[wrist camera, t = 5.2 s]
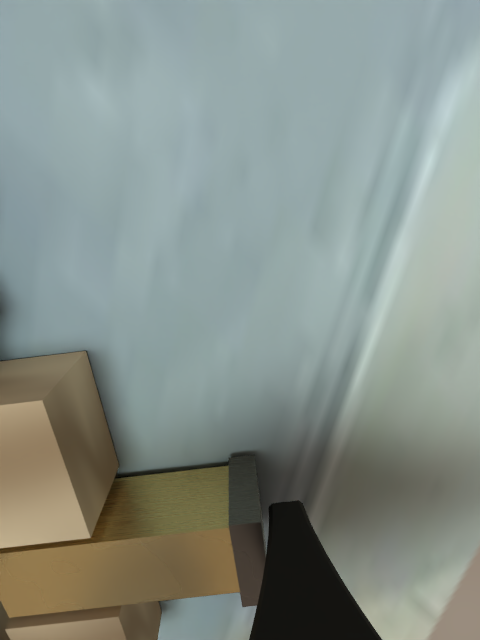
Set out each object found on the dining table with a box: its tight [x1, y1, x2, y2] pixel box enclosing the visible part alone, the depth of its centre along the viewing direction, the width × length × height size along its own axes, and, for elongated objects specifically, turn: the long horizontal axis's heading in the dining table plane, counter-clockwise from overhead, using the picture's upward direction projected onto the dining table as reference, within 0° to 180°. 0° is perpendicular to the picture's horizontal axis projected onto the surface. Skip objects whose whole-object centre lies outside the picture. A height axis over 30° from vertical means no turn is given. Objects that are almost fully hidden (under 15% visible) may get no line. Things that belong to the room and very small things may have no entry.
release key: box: [0, 455, 266, 618], centre depth 11 cm, size 3×7×2 cm, turn 97°
